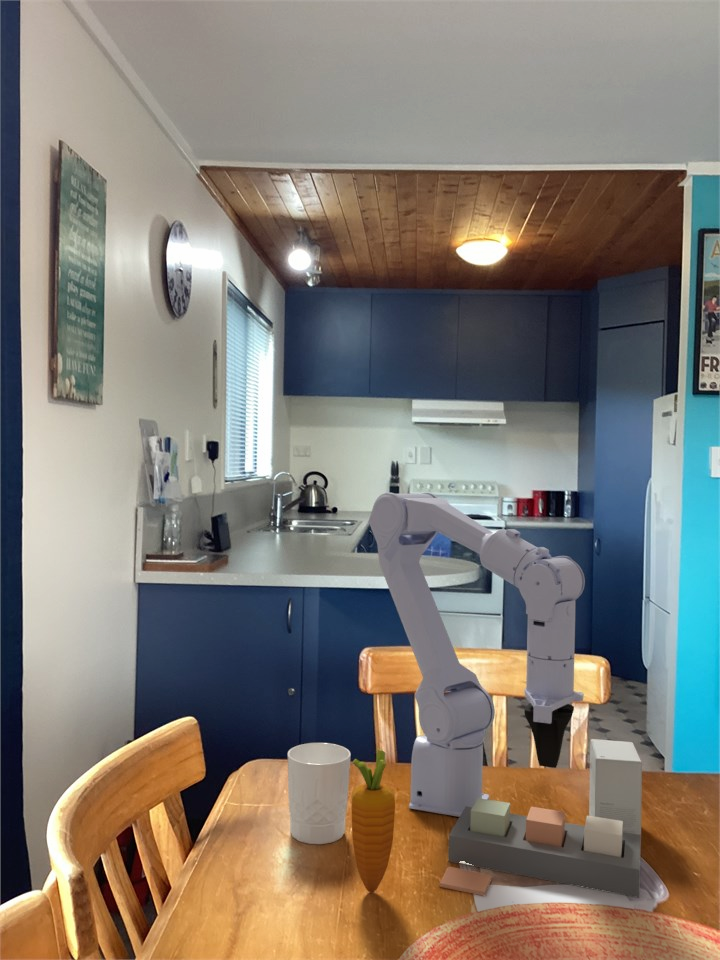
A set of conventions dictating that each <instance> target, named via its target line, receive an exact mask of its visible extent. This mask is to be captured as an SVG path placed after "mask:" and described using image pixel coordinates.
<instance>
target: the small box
mask: <svg viewBox="0 0 720 960" xmlns="http://www.w3.org/2000/svg"><path fill="white" fill-rule="evenodd" d="M642 773H643V761H642V759H641V757H640V755H639V753H638V751H637V749H636V747H635V744H634V743H633V742H631V741H621V740H611V739H610V740H609V739H608V740H607V739H596V738H591V739H590V741H589V792H588V793H589V797H588V799H589V801H588V803H589V804H588V805H589V806H588V808H589V809H588V816H594V817H600V818H606V819H612V820H619V821H623V832H626V833H632V834H638V835H641V836H642V802H643V801H642V799H643V798H642V790H643V788H642V787H643V785H642V783H643V774H642Z"/></svg>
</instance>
